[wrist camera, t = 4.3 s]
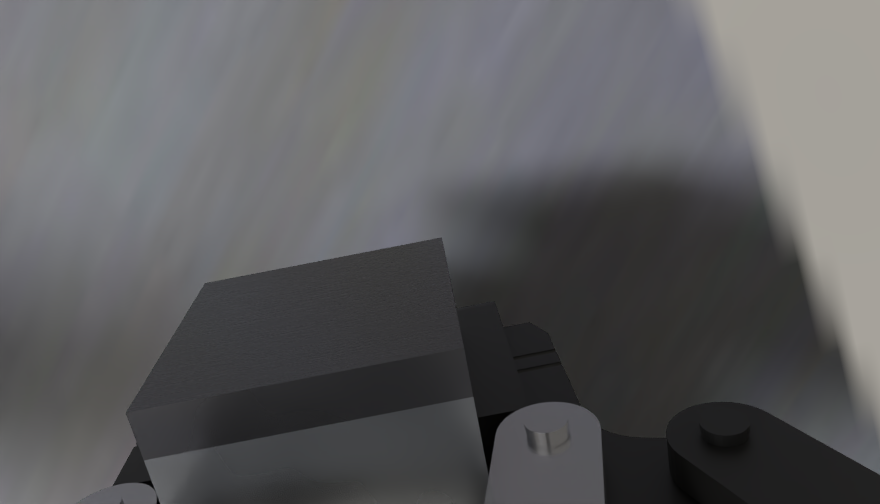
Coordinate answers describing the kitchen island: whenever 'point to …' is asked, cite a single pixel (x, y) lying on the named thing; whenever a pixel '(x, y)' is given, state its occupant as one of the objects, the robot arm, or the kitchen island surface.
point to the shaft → (317, 389)
